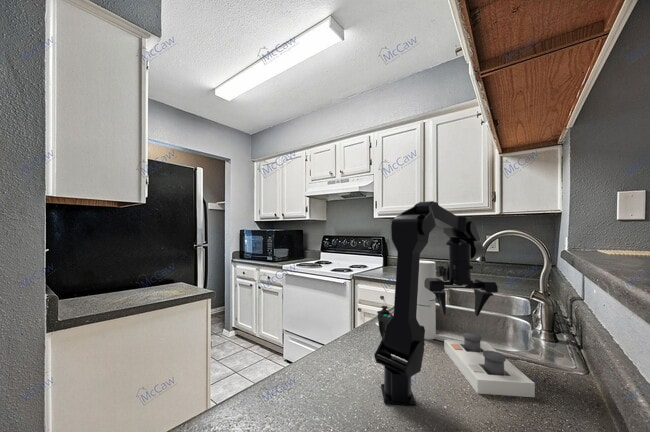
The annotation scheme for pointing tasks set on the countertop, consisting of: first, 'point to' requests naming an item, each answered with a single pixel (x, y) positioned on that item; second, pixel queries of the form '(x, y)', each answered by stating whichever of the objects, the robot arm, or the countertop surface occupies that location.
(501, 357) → the near button
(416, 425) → the countertop surface
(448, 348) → the panel
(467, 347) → the far button
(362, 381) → the countertop surface
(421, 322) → the cylindrical container
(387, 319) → the controller
